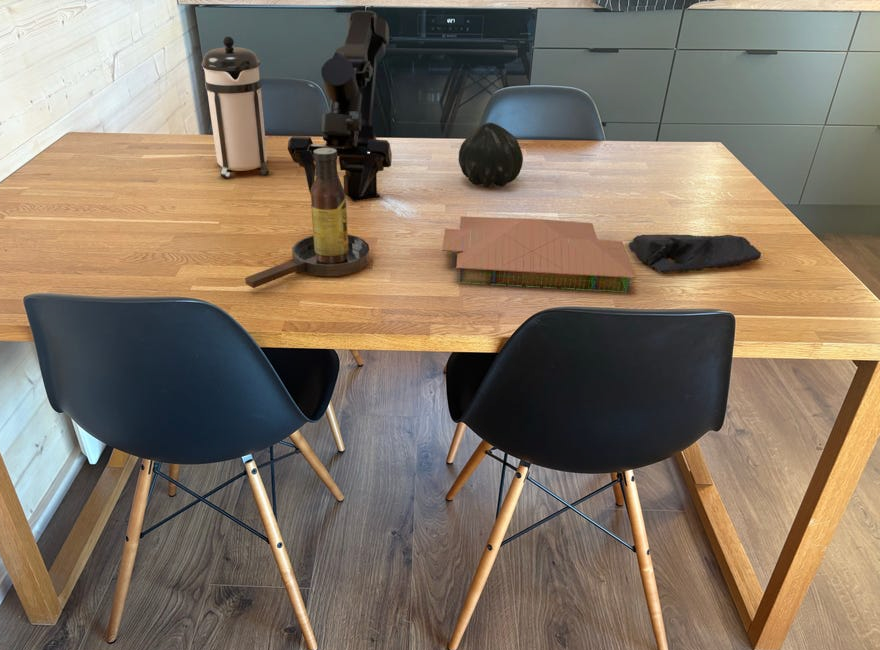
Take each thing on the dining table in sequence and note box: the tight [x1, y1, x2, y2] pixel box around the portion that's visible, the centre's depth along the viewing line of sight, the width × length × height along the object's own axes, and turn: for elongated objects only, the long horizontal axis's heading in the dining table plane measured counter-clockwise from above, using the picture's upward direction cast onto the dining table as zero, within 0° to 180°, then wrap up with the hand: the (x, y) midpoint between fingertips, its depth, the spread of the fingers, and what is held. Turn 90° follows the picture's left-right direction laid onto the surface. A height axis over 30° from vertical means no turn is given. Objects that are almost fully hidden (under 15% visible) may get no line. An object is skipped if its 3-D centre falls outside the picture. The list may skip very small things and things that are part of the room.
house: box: [441, 216, 637, 293], centre depth 128 cm, size 23×33×8 cm
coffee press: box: [201, 36, 270, 179], centre depth 164 cm, size 17×16×30 cm
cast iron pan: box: [291, 233, 371, 277], centre depth 128 cm, size 14×14×2 cm
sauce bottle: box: [310, 148, 349, 264], centre depth 123 cm, size 6×6×20 cm
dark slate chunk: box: [628, 234, 762, 274], centre depth 131 cm, size 15×22×5 cm
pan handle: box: [244, 258, 306, 289], centre depth 121 cm, size 11×3×2 cm, turn 135°
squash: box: [458, 122, 524, 188], centre depth 162 cm, size 14×15×15 cm
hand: (335, 194), depth 128 cm, fingers open, 9 cm apart
